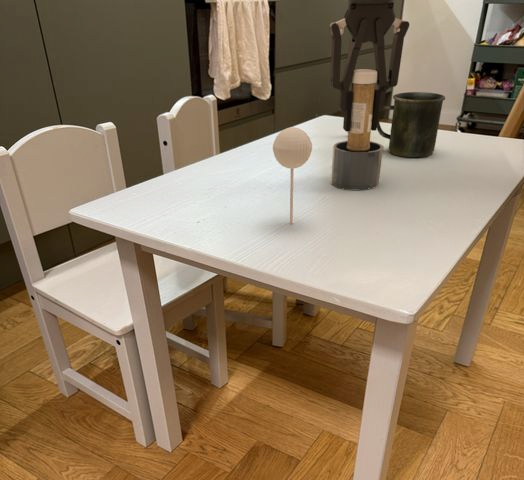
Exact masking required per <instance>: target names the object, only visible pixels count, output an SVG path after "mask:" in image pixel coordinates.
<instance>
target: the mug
mask: <svg viewBox="0 0 524 480" xmlns="http://www.w3.org/2000/svg"><path fill="white" fill-rule="evenodd" d="M392 99H393V100H394V101H393V105H384V108H383V110H379V111H378V121H377V130H376V131H377V133H378V134H379V135H380V136H381V137H382V138H385V139H386V140H387V139H388V140H389V142H388V151H389V153H391V154H392V155H394V156H399V157H404V158H423V157H428V156H431V155H432V154H434V152H435V149H436V143H437V136H438V131H439V125H440V120H441V112H442V108H443V102H444V101H445V100H446V96H445V95H444V94H440V93H435V92H425V91H418V92H417V91H409V92H399V93H396V94H394V95H393V96H392ZM385 111H392V117H391V118H392V119H391V127H390V134H389V133H386V132H385V131H384V130H383V129H382V127H381V123H380V114H381V113H382V112H385Z"/></svg>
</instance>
